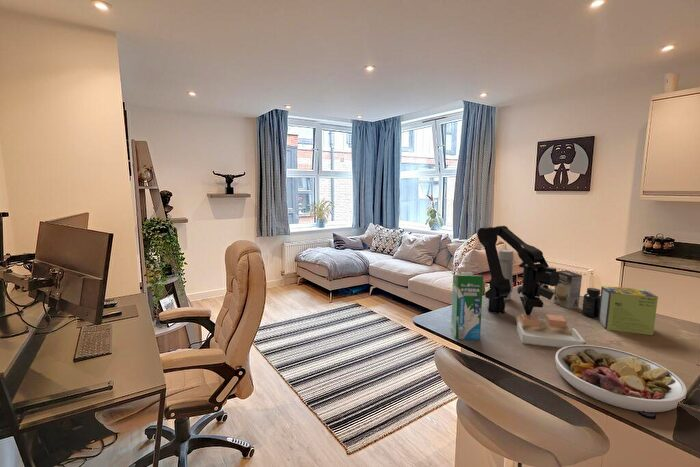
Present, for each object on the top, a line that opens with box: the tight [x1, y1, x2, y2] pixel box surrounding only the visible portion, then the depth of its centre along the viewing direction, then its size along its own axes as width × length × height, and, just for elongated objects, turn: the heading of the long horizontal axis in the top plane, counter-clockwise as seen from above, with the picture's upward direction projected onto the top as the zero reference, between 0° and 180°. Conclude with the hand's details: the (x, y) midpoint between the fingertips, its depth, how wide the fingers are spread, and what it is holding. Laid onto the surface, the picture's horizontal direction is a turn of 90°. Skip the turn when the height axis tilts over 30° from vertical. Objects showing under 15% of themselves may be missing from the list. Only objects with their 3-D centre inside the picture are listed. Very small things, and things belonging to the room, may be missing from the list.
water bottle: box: [498, 248, 516, 302], centre depth 171 cm, size 9×8×25 cm
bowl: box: [554, 344, 688, 413], centre depth 100 cm, size 30×30×8 cm
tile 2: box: [544, 313, 568, 328], centre depth 138 cm, size 6×6×2 cm
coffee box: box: [553, 269, 583, 310], centre depth 163 cm, size 9×6×16 cm
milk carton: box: [450, 271, 484, 341], centre depth 132 cm, size 9×9×25 cm
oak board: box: [515, 315, 572, 335], centre depth 139 cm, size 18×10×2 cm, turn 73°
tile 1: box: [519, 313, 540, 327], centre depth 138 cm, size 6×6×2 cm
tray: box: [516, 322, 587, 349], centre depth 128 cm, size 20×12×3 cm, turn 73°
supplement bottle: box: [581, 287, 601, 319], centre depth 151 cm, size 7×7×12 cm
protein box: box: [597, 285, 659, 336], centre depth 138 cm, size 10×15×16 cm
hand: (528, 316), depth 142 cm, fingers closed
